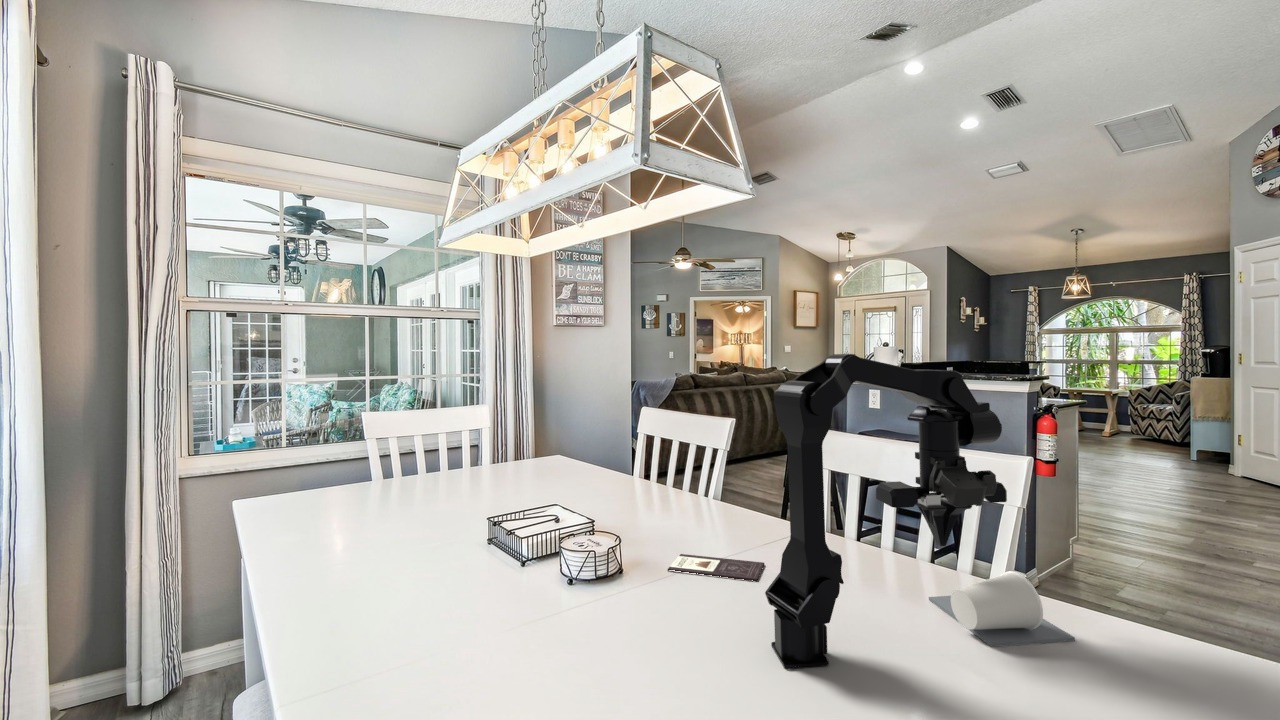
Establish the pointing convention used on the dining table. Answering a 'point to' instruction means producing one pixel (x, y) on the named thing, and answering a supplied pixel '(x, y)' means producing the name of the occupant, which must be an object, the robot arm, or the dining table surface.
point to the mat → (1010, 630)
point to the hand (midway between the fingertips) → (941, 545)
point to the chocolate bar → (718, 567)
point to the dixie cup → (998, 603)
